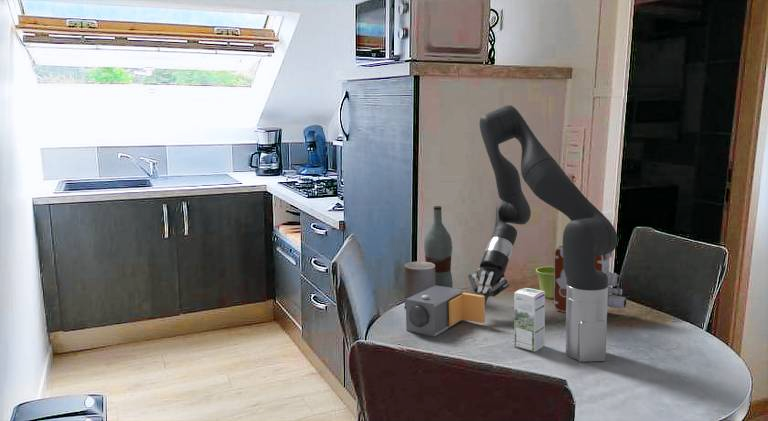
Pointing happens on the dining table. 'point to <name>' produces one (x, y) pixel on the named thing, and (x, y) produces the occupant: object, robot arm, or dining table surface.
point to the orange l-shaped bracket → (467, 308)
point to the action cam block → (430, 310)
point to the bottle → (439, 250)
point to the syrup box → (529, 319)
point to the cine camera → (600, 265)
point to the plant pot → (546, 280)
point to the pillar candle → (418, 277)
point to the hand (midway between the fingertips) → (478, 306)
